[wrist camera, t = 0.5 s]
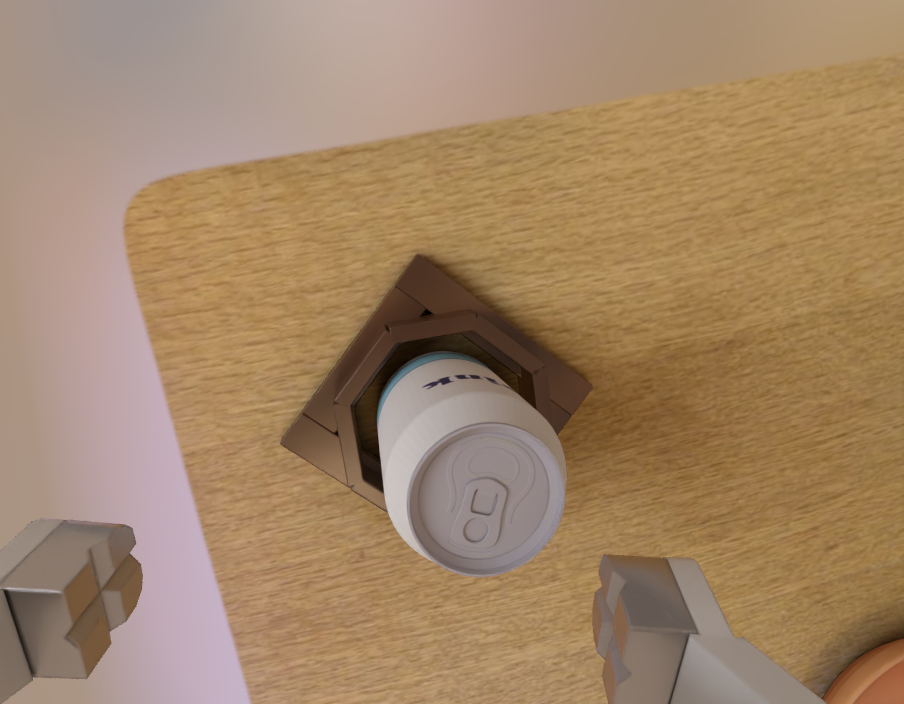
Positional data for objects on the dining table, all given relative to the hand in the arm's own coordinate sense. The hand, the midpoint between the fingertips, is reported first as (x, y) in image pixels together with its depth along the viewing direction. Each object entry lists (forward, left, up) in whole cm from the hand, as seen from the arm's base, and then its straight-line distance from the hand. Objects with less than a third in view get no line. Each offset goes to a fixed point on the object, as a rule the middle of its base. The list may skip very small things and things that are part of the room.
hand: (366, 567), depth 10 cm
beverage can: (+5, 0, -21) cm, 22 cm away
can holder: (+5, 0, -21) cm, 22 cm away
